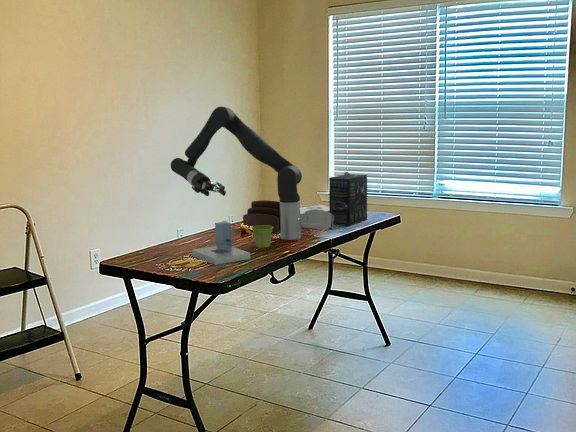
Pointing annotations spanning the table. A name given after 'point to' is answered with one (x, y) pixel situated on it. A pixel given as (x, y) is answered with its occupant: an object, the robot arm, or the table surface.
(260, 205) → the letter holder
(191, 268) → the table surface
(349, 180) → the headset box
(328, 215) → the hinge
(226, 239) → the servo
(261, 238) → the plant pot
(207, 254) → the plate
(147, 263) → the table surface
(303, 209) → the white rounded slab
